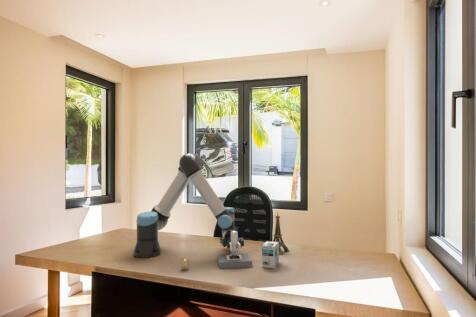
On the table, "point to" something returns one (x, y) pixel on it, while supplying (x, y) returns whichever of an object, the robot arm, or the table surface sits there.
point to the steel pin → (234, 244)
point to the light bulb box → (270, 254)
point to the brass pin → (184, 264)
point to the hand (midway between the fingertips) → (235, 247)
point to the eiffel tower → (278, 235)
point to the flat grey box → (234, 261)
